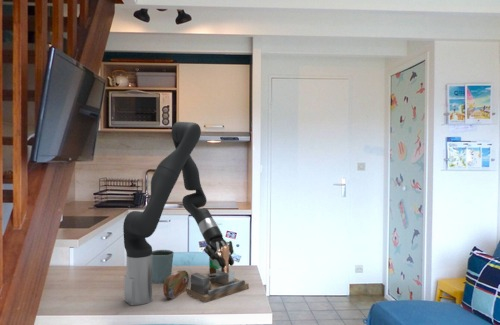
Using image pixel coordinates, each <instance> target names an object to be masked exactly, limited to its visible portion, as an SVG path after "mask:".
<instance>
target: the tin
mask: <svg viewBox="0 0 500 325" xmlns="http://www.w3.org/2000/svg"><path fill="white" fill-rule="evenodd" d="M189 279H190V278H189V274H188V272H187V271H186V270H181V269H179V270H176V272H174V273H171V275H170V276H168V277H167V278H166V279H165V281H164V283H163V284H162V285H163V286H162V287H163V295H164V297H166V298H167V299H173V300H174V299H175V298H177V297H178V296H180V295H181V294H182V293H184V292H185V291H187V288H189V287H188V286H189V281H190V280H189Z"/></svg>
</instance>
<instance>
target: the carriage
mask: <svg viewBox="0 0 500 325" xmlns="http://www.w3.org/2000/svg"><path fill="white" fill-rule="evenodd" d="M221 257H222V258H223V260H224V262H225V264H226V266H225V267H224V268H222V267H221V268H219V269H216V281H217V282H219V283H221V284H224V285H229V284H232V283H234V278H235V271H232V270H230V264H229V246H227V245H224V246H221Z"/></svg>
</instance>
